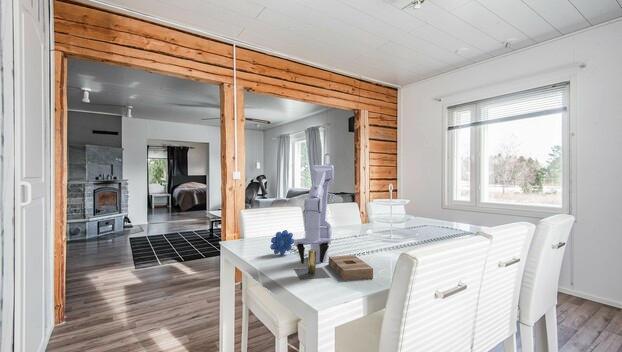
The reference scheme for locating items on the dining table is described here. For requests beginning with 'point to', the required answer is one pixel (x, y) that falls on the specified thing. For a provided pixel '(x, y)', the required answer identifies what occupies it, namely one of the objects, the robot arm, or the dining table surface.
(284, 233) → the blue thick lobed disc
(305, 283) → the dining table surface
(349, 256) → the walnut block
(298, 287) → the dining table surface
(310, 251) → the brass pin
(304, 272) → the rubber mat
